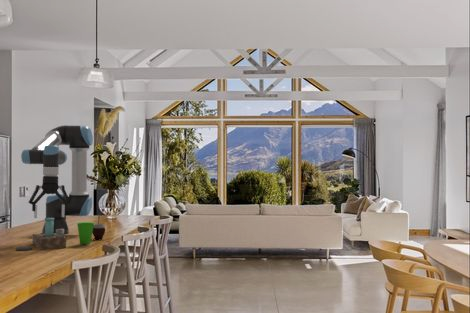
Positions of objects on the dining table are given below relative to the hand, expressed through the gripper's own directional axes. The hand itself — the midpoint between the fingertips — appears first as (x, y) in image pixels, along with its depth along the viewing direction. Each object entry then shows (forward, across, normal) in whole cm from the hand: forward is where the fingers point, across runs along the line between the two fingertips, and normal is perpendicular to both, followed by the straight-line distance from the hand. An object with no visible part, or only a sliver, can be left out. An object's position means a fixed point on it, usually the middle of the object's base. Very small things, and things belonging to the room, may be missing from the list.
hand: (49, 217), depth 275 cm
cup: (+14, -18, +2) cm, 23 cm away
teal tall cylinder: (+14, 0, 0) cm, 14 cm away
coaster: (+14, +13, +8) cm, 21 cm away
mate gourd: (+14, -30, -13) cm, 36 cm away
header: (+14, 0, 0) cm, 14 cm away
